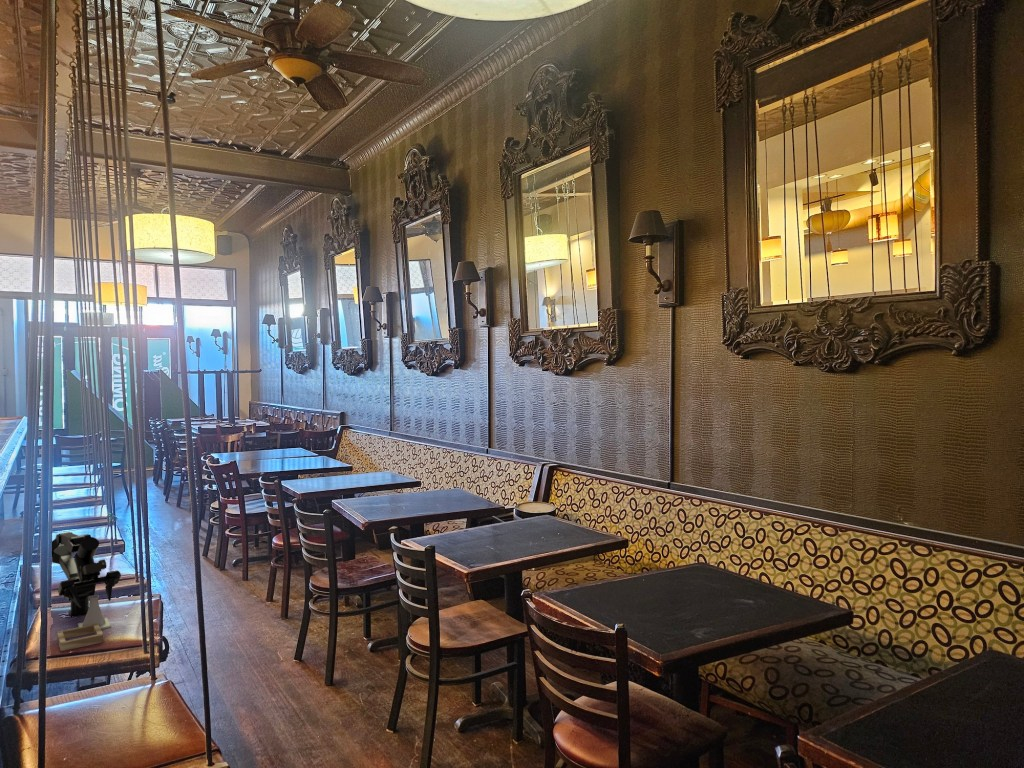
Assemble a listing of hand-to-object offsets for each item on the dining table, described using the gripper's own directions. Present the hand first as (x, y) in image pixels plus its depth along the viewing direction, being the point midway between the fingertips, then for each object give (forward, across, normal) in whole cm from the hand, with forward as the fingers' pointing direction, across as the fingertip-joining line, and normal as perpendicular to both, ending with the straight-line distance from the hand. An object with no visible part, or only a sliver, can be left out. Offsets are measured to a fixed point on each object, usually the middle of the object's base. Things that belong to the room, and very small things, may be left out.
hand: (95, 603), depth 241 cm
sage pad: (+5, 0, +7) cm, 9 cm away
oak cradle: (+12, -7, 0) cm, 14 cm away
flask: (+5, 0, +7) cm, 8 cm away
